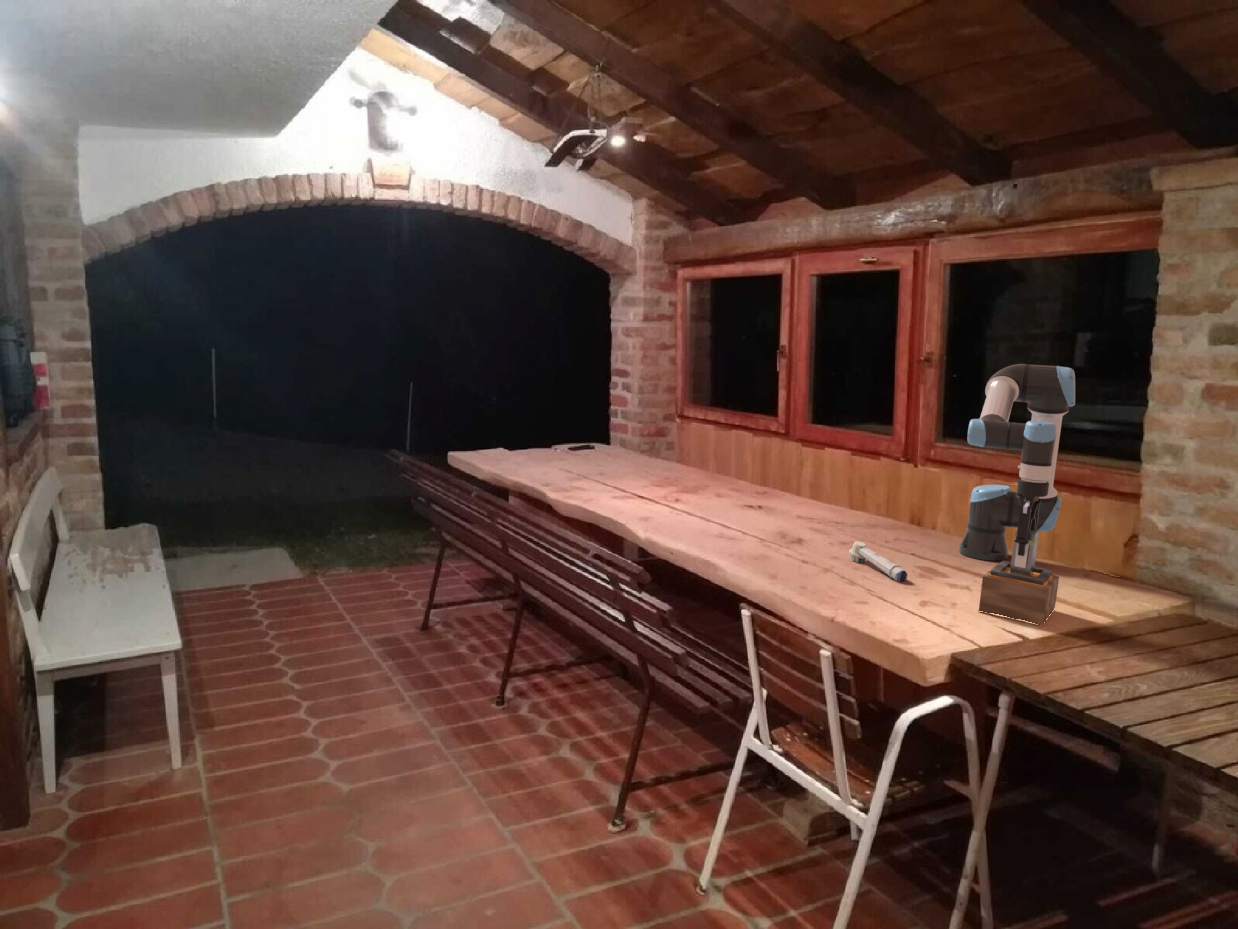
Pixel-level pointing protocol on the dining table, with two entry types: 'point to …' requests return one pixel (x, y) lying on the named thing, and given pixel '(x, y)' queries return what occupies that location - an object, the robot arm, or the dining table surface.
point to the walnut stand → (1019, 593)
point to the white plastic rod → (876, 561)
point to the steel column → (1030, 556)
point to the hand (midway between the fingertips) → (1023, 563)
